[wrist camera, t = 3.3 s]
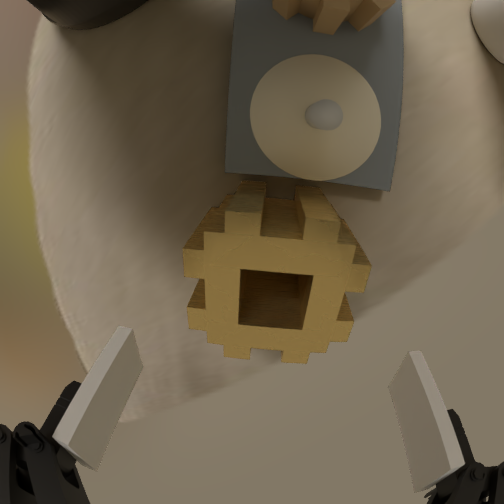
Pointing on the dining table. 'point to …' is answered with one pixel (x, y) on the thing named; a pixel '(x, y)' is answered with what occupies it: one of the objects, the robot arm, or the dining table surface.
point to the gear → (274, 273)
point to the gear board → (316, 90)
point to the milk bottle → (490, 25)
